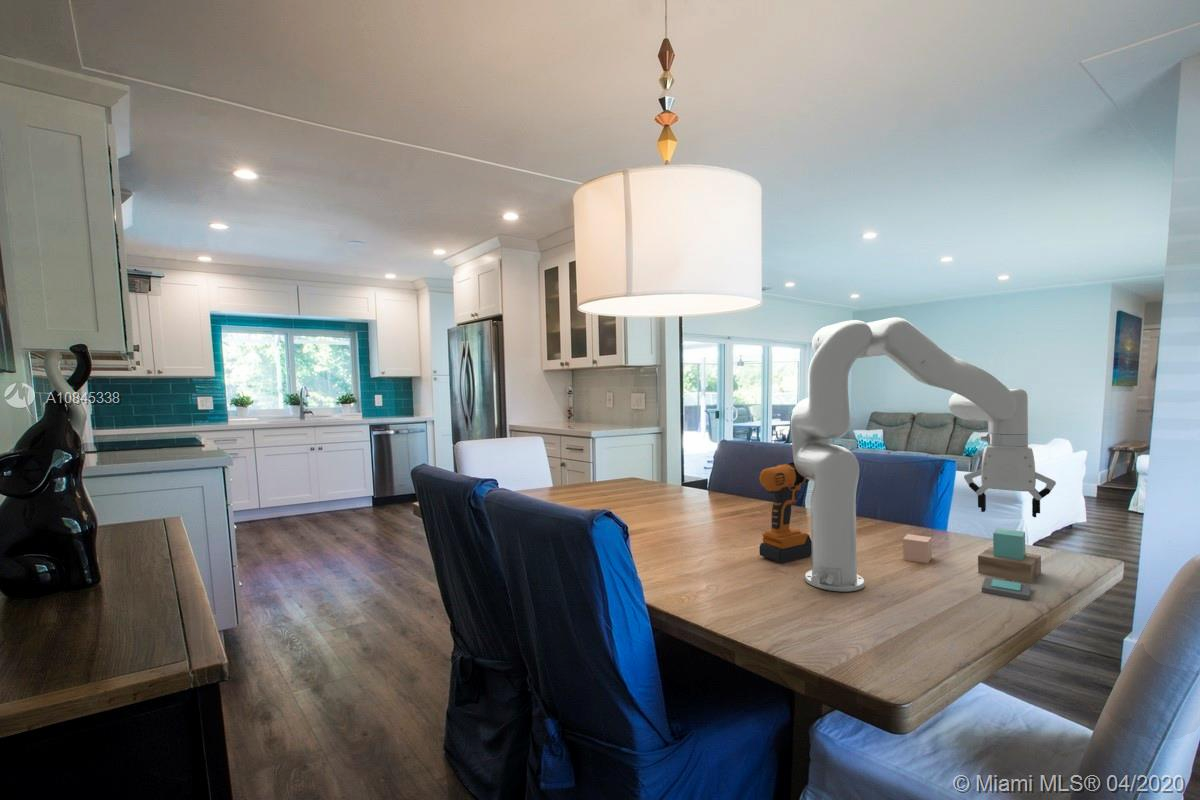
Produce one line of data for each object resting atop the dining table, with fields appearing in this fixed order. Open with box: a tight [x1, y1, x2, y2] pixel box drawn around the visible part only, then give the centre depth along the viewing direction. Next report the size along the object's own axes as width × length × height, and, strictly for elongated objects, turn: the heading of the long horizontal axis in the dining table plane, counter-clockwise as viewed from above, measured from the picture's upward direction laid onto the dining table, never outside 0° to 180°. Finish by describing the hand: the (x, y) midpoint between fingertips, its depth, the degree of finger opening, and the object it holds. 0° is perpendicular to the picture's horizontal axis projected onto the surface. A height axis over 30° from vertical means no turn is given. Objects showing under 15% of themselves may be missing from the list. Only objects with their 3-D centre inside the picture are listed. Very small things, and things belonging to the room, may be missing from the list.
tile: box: [981, 576, 1031, 601], centre depth 118 cm, size 8×8×1 cm
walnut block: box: [977, 546, 1042, 584], centre depth 129 cm, size 10×10×4 cm
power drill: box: [758, 461, 812, 564], centre depth 146 cm, size 22×7×25 cm, turn 122°
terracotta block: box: [902, 533, 933, 564], centre depth 141 cm, size 6×6×6 cm
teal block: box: [992, 527, 1026, 561], centre depth 129 cm, size 6×6×6 cm
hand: (1008, 513), depth 129 cm, fingers open, 9 cm apart
